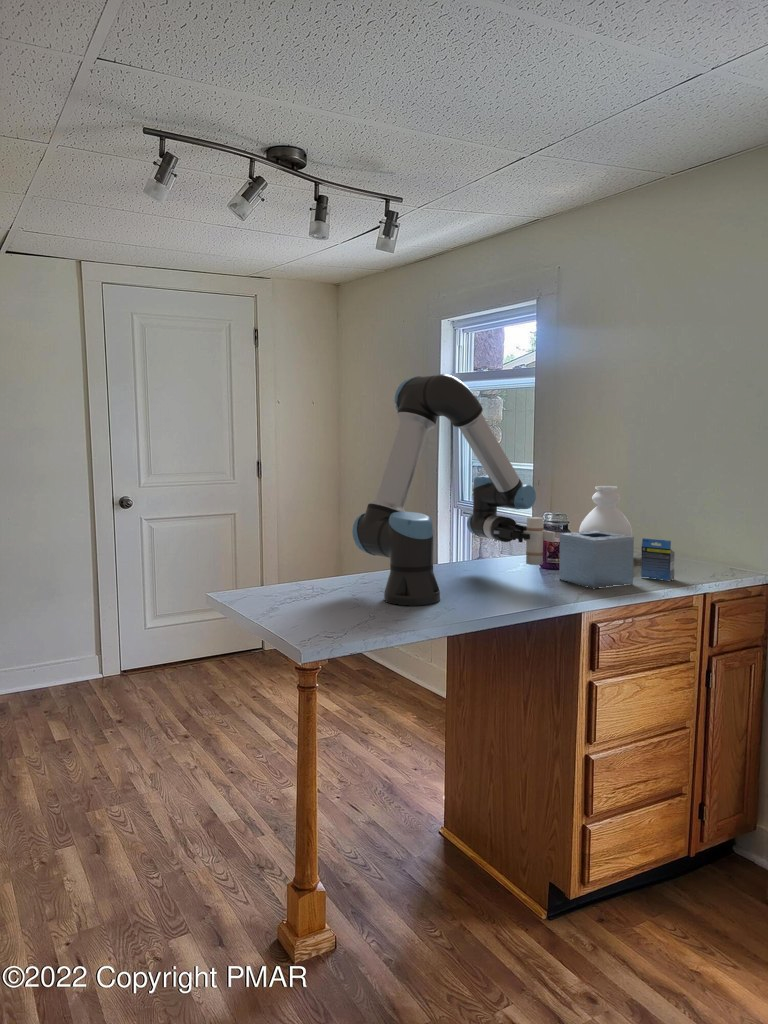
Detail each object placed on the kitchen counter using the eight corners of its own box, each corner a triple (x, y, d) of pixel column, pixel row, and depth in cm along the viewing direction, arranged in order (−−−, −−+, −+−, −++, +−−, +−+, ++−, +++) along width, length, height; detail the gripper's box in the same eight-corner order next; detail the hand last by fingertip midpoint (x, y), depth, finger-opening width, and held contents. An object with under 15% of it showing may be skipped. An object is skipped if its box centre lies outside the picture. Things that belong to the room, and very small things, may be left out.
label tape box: (674, 579, 220) (675, 538, 218) (670, 581, 216) (671, 540, 215) (645, 576, 225) (646, 536, 224) (640, 578, 222) (641, 538, 221)
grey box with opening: (593, 589, 208) (594, 540, 207) (559, 579, 223) (559, 533, 221) (632, 584, 213) (633, 536, 212) (596, 575, 228) (597, 530, 227)
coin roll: (532, 565, 206) (532, 519, 205) (522, 562, 210) (523, 517, 209) (546, 564, 208) (547, 518, 207) (536, 561, 212) (537, 517, 211)
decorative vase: (625, 553, 267) (626, 484, 264) (637, 561, 249) (638, 488, 247) (575, 553, 269) (575, 485, 266) (583, 562, 251) (584, 488, 248)
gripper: (525, 539, 229) (571, 549, 207) (475, 542, 222) (518, 552, 201) (525, 515, 228) (572, 522, 207) (476, 517, 221) (519, 525, 200)
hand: (545, 537), depth 204 cm, fingers closed on coin roll, 4 cm apart
